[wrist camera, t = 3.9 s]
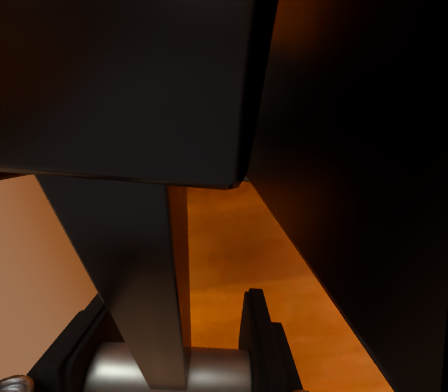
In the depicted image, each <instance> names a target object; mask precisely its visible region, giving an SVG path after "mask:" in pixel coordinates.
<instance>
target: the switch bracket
mask: <svg viewBox="0 0 448 392" xmlns="http://www.w3.org/2000/svg"><path fill="white" fill-rule="evenodd" d="M25 175H31V174H21V173H8V172H0V180H3V179H9V178H14V177H20V176H25ZM242 181H245V182H250V183H251V184H252V185H253V187H254V188H255V190H256V191H257V193H258V194H259V196H260V197H261V199H262V200H263V201H264V203H265V204H266V206H267V207H268V209H269V210H270V212H271V213H272V214H273V216H274V217H275V219H276V220H277V222H278V223H279V225H280V226H281V228H282V229H283V230H284V232H285V233H286V235H287V236H288V238H289V239H290V241H291V242H292V244H293V245H294V246H295V248H296V249H297V251H298V252H299V254H300V255H301V257H302V258H303V260H304V261H305V262H306V264H307V265H308V267H309V268H310V270H311V271H312V273H313V274H314V276H315V277H316V278H317V280H318V281H319V283H320V284H321V286H322V287H323V289H324V290H325V292H326V293H327V294H328V296H329V297H330V299H331V300H332V302H333V303H334V305H335V306H336V308H337V309H338V310H339V312H340V313H341V315H342V316H343V318H344V319H345V321H346V322H347V324H348V325H349V326H350V328H351V329H352V331H353V332H354V334H355V335H356V337H357V338H358V340H359V341H360V342H361V344H362V345H363V347H364V348H365V350H366V351H367V353H368V354H369V355H370V357H371V358H372V360H373V361H374V363H375V364H376V366H377V367H378V369H379V370H380V371H381V373H382V374H383V376H384V377H385V379H386V380H387V382H388V383H389V385H390V386H391V387H392V389H393V390H394V392H448V0H279V1H278V7H277V12H276V18H275V23H274V29H273V35H272V40H271V46H270V52H269V57H268V63H267V68H266V74H265V80H264V85H263V91H262V97H261V102H260V108H259V113H258V119H257V125H256V130H255V136H254V142H253V147H252V153H251V158H250V164H249V170H248V172H247V174H246V176H245V177H244V179H243V180H242Z"/></svg>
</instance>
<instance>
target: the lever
mask: <svg viewBox="0 0 448 392" xmlns="http://www.w3.org/2000/svg"><path fill="white" fill-rule="evenodd" d="M278 1H279V0H0V172H8V173H21V174H33V175H35V177H36V179H37V181H38V183H39V185H40V186H41V188H42V190H43V192H44V193H45V196H46V198H47V199H48V201H49V203H50V205H51V207H52V208H53V210H54V212H55V214H56V216H57V218H58V220H59V222H60V223H61V225H62V227H63V229H64V231H65V233H66V234H67V236H68V238H69V240H70V242H71V244H72V246H73V247H74V249H75V251H76V253H77V255H78V257H79V258H80V260H81V262H82V264H83V266H84V268H85V270H86V271H87V273H88V275H89V277H90V279H91V280H92V282H93V284H94V286H95V288H96V290H97V291H98V294H99V295H100V297H101V299H102V301H103V303H104V305H105V307H106V308H107V310H108V312H109V314H110V316H111V318H112V319H113V321H114V323H115V325H116V327H117V329H118V331H119V332H120V334H121V336H122V338H123V340H124V342H125V343H120V342H103V343H101V344H100V345H99V346H98V347H97V349H96V350H95V352H94V354H93V355H92V357H91V359H90V362H89V364H88V367H87V370H86V373H85V376H84V380H83V385H82V392H252V389H253V382H252V364H251V357H250V353H249V351H248V350H240V349H223V348H205V347H191V318H190V283H189V247H188V212H187V187H193V188H206V189H218V190H229V189H233V188H237V187H239V185H240V184H241V182H242V180H243V179H244V177H245V176H246V174H247V172H248V170H249V164H250V158H251V153H252V147H253V142H254V136H255V130H256V125H257V119H258V113H259V108H260V102H261V97H262V91H263V85H264V80H265V74H266V68H267V63H268V57H269V52H270V46H271V40H272V35H273V29H274V23H275V18H276V12H277V7H278Z"/></svg>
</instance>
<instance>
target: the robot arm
mask: <svg viewBox="0 0 448 392" xmlns="http://www.w3.org/2000/svg"><path fill="white" fill-rule="evenodd" d="M103 342H120V343H125V342H124V340H123V338H122V336H121V334H120V332H119V331H118V329H117V327H116V325H115V323H114V321H113V319H112V318H111V316H110V314H109V312H108V310H107V308H106V307H105V305H104V303H103V301H102V299H101V297H100V295H99V294H97V295H96V296H95V297H94V298H93V300H92V301H91V302H90V304H89V305H88V306H87V307H86V308H85V310H82V311H80V312H79V313H78V314H77V315H76V316H75V317H74V318H73V320H72V321H71V322H70V323H69V324H68V326H67V327H66V328H65V329H64V330H63V332H62V333H61V334H60V335H59V336H58V337H57V339H56V340H55V341H54V342H53V344H52V345H51V346H50V347H49V348H48V349H47V351H46V352H45V353H44V354H43V356H42V357H41V358H40V359H39V360H38V362H37V363H36V364H35V365H34V366H33V368H32V369H31V370H30V371H29V373H28V374H27V375H26V376H25V375H14V376H11V377H8V378H5V379H2V380H0V392H82V385H83V380H84V376H85V373H86V370H87V367H88V364H89V362H90V359H91V357H92V355H93V354H94V352H95V350H96V349H97V347H98V346H99V345H100V344H101V343H103ZM239 349H240V350H248V351H249V353H250V357H251V364H252V382H253V389H252V392H309V391H305V390H303V387H302V384H301V381H300V378H299V375H298V372H297V369H296V366H295V363H294V360H293V357H292V354H291V350H290V347H289V344H288V341H287V338H286V335H285V332H284V329H283V326H282V324H281V323H277V322H271V319H270V315H269V312H268V308H267V305H266V301H265V297H264V294H263V290H262V289H253V288H250V289H249V292H247V291H245V294H244V302H243V310H242V318H241V326H240V334H239Z"/></svg>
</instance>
